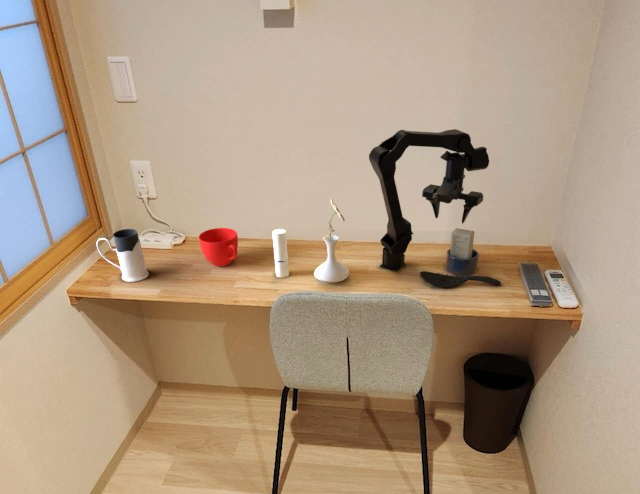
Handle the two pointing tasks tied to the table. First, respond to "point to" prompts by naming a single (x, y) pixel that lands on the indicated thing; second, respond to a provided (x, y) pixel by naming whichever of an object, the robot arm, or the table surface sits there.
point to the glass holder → (128, 255)
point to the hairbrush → (453, 279)
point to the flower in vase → (331, 257)
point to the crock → (462, 264)
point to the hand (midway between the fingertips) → (449, 220)
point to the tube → (280, 252)
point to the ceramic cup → (219, 245)
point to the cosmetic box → (462, 243)
